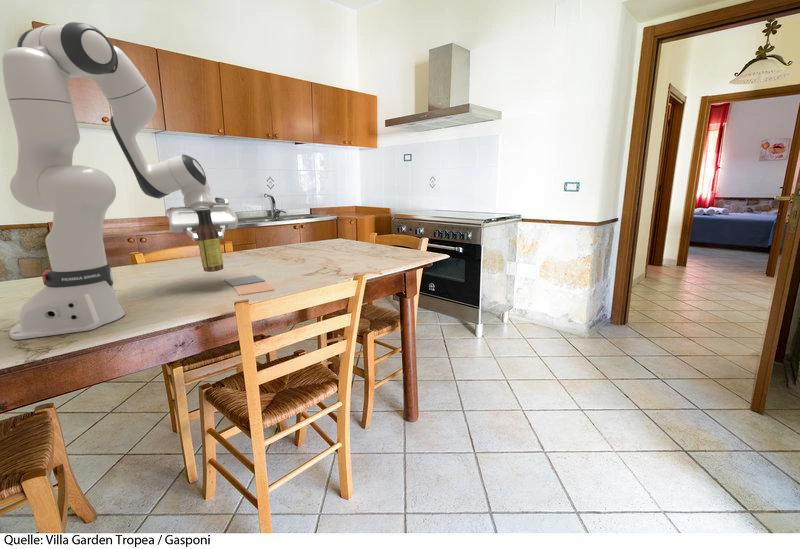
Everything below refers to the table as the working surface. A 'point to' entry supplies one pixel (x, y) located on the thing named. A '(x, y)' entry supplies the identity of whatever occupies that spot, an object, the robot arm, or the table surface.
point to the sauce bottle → (208, 242)
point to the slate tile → (244, 280)
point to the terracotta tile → (253, 288)
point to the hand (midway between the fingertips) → (208, 239)
